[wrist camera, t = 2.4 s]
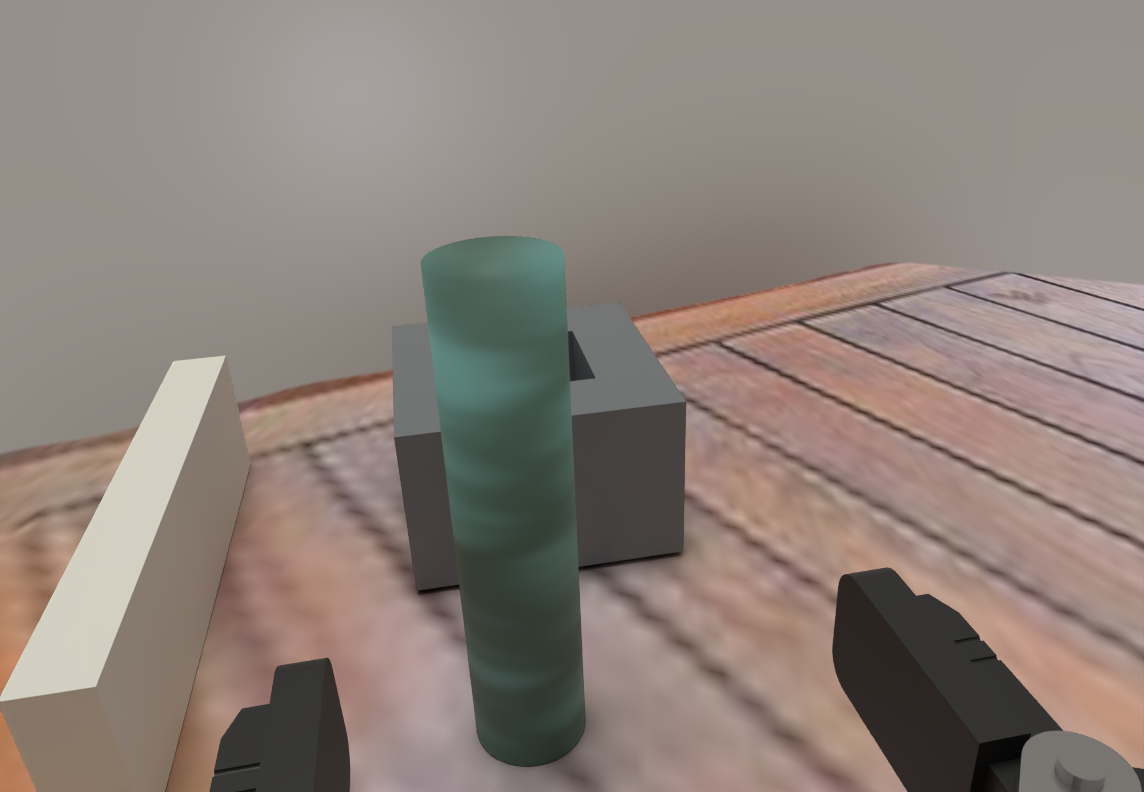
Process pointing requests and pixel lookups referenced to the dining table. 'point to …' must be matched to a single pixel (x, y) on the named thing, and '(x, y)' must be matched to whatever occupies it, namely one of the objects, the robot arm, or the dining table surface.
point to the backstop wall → (135, 599)
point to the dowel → (511, 486)
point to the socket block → (600, 446)
